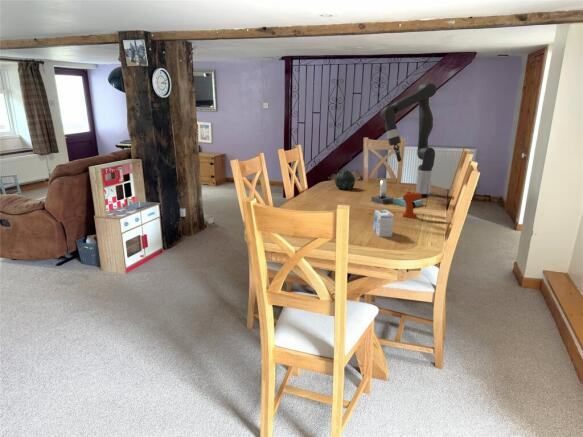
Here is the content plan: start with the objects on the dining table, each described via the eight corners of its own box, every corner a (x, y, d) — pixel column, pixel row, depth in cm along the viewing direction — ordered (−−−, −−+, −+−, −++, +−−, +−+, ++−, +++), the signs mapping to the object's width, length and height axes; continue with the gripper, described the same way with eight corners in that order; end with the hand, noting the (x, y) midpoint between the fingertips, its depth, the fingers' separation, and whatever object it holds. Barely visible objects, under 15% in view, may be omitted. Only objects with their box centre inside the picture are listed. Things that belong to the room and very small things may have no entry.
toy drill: (437, 217, 226) (437, 190, 222) (402, 219, 231) (401, 193, 228) (437, 215, 230) (436, 189, 227) (402, 216, 236) (401, 191, 232)
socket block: (381, 199, 275) (381, 194, 274) (393, 202, 267) (393, 197, 266) (371, 201, 269) (371, 196, 268) (382, 204, 261) (383, 199, 261)
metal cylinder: (381, 200, 271) (383, 179, 267) (386, 201, 268) (388, 180, 264) (377, 201, 268) (379, 180, 265) (382, 202, 265) (383, 181, 262)
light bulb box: (372, 230, 207) (374, 209, 204) (385, 230, 207) (387, 209, 204) (379, 236, 197) (380, 215, 194) (392, 236, 197) (394, 215, 194)
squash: (342, 178, 319) (337, 165, 308) (360, 181, 310) (355, 168, 299) (335, 192, 313) (329, 180, 302) (352, 196, 305) (347, 183, 294)
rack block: (405, 201, 270) (406, 196, 270) (422, 204, 260) (422, 200, 260) (392, 203, 263) (393, 199, 262) (409, 207, 253) (409, 203, 252)
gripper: (399, 134, 261) (405, 159, 262) (398, 136, 275) (404, 160, 276) (387, 137, 263) (394, 162, 264) (387, 139, 277) (393, 163, 278)
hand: (399, 161), depth 270 cm, fingers open, 8 cm apart
